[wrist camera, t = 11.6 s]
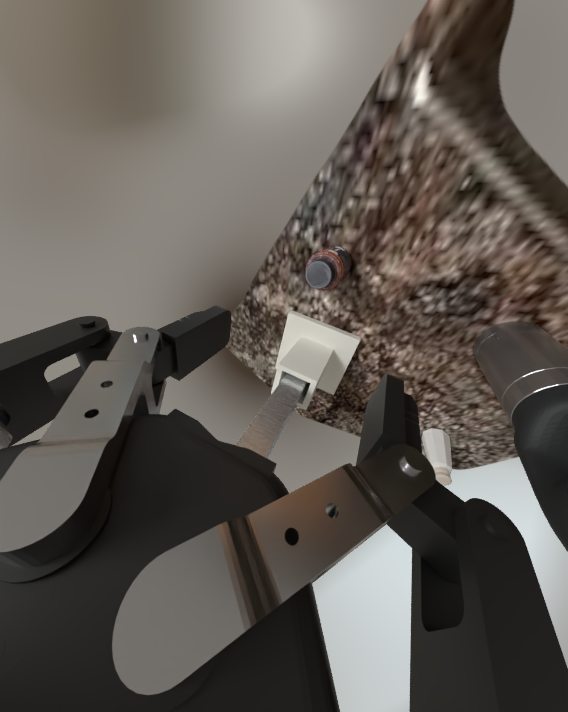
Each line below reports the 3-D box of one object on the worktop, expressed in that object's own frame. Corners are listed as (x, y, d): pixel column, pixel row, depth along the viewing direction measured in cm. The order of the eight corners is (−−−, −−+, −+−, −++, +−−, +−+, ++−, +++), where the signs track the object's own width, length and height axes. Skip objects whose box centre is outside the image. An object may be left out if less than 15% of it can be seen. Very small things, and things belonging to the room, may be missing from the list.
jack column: (314, 368, 46) (262, 461, 28) (308, 384, 48) (257, 478, 31) (295, 360, 46) (234, 445, 29) (290, 376, 49) (231, 463, 32)
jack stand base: (361, 337, 47) (348, 377, 35) (334, 391, 57) (317, 437, 45) (291, 310, 51) (258, 338, 39) (277, 365, 60) (247, 402, 48)
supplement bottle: (337, 237, 40) (320, 243, 32) (358, 264, 41) (347, 276, 32) (313, 262, 44) (291, 273, 35) (333, 286, 45) (316, 303, 36)
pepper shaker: (425, 446, 54) (430, 490, 45) (418, 429, 52) (421, 470, 44) (453, 445, 51) (464, 491, 42) (445, 426, 49) (456, 470, 41)
